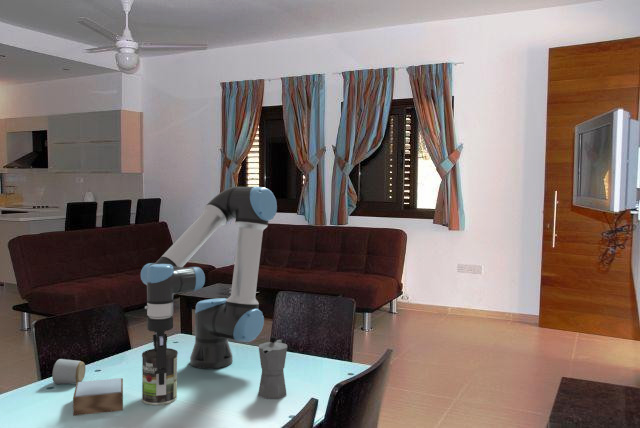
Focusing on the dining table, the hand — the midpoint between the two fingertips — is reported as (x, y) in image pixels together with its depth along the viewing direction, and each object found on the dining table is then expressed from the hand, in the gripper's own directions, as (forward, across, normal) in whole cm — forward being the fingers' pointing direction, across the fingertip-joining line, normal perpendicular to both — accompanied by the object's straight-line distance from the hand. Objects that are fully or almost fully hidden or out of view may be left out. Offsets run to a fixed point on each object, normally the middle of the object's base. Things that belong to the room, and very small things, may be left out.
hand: (159, 387), depth 169 cm
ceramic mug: (+4, -24, -27) cm, 36 cm away
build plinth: (+3, 0, -17) cm, 17 cm away
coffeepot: (+4, +5, +34) cm, 35 cm away
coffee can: (+4, 0, 0) cm, 4 cm away
